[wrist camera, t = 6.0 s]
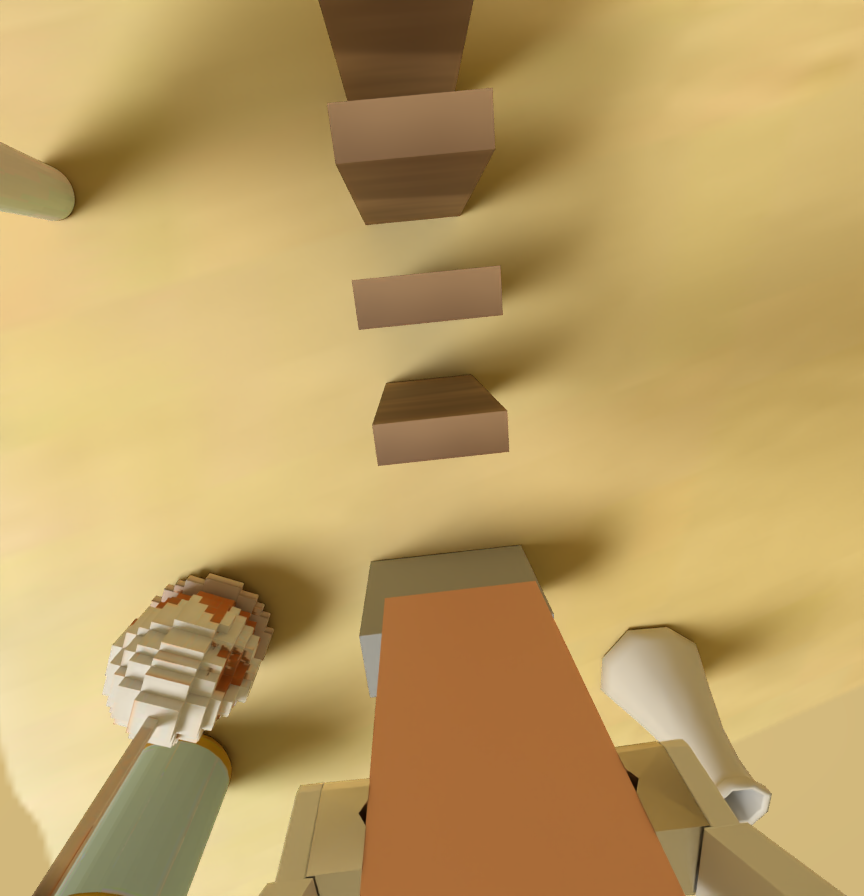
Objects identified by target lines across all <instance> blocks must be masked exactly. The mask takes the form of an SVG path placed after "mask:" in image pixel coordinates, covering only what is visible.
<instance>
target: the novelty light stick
mask: <svg viewBox="0 0 864 896" xmlns="http://www.w3.org/2000/svg"><path fill="white" fill-rule="evenodd" d="M74 203H75V196H74V191H73V188H72V186H71V184H70V182H69V181H68V179H67V178H66V177H65V176H64V175H63V174H62V173H61V172H60V171H58V170H57V169H55V168H53V167H51V166H49V165H47V164H45V163H43V162H41V161H39V160H37V159H35V158H32V157H30V156H28V155H26V154H24V153H22V152H20V151H18V150H16V149H14V148H12V147H9V146H7V145H5V144H3V143H1V142H0V211H3V212H8V213H13V214H18V215H24V216H29V217H34V218H40V219H45V220H50V221H58V220H62V219H64V218H66V217H67V216H69V214H70V213H71V212H72V210H73V208H74Z"/></svg>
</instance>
